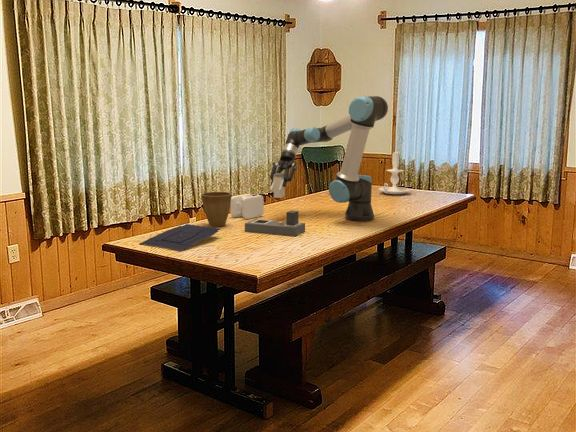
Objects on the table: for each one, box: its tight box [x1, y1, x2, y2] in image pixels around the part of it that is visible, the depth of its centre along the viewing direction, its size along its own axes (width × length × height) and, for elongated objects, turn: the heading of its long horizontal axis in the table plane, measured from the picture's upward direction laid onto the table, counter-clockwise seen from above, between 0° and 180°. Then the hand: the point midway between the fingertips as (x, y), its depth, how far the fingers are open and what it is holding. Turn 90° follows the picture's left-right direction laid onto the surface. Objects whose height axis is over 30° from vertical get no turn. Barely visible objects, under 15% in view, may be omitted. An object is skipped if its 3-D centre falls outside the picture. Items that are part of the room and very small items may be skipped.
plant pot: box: [200, 191, 233, 228], centre depth 303 cm, size 15×15×16 cm
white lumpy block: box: [230, 193, 265, 220], centre depth 325 cm, size 15×11×12 cm
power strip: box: [244, 210, 306, 237], centre depth 291 cm, size 26×12×10 cm, turn 67°
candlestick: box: [378, 151, 411, 195], centre depth 398 cm, size 21×25×28 cm
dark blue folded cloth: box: [139, 223, 221, 252], centre depth 272 cm, size 24×30×4 cm
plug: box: [273, 172, 286, 199], centre depth 315 cm, size 4×5×12 cm
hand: (276, 191), depth 312 cm, fingers closed on plug, 4 cm apart
